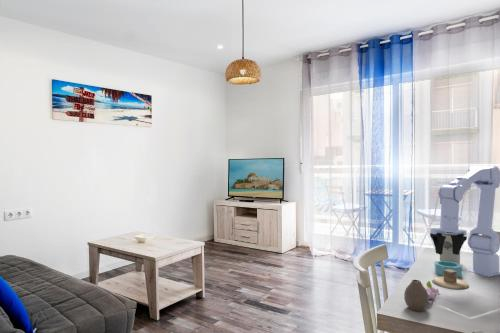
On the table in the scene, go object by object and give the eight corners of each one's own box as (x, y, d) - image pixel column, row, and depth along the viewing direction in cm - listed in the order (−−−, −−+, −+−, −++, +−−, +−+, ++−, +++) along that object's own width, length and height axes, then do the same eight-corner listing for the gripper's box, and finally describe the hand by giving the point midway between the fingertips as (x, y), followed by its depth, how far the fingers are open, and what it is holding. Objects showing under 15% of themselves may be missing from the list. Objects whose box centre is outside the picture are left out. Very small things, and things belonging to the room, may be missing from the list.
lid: (446, 277, 135) (446, 264, 135) (474, 286, 125) (474, 272, 125) (426, 281, 130) (426, 268, 130) (454, 290, 120) (454, 277, 120)
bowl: (444, 270, 145) (444, 259, 145) (465, 276, 137) (465, 265, 137) (430, 273, 141) (430, 262, 141) (450, 280, 133) (450, 268, 133)
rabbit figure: (424, 294, 122) (409, 299, 112) (424, 277, 123) (410, 281, 112) (443, 299, 118) (430, 305, 107) (444, 281, 119) (431, 285, 108)
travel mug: (446, 259, 161) (446, 221, 161) (463, 263, 155) (463, 223, 154) (436, 261, 157) (436, 222, 157) (453, 266, 151) (453, 225, 150)
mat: (445, 278, 135) (445, 276, 135) (476, 287, 125) (476, 286, 125) (424, 282, 130) (424, 281, 130) (455, 293, 119) (455, 291, 119)
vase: (431, 314, 103) (431, 285, 103) (407, 312, 104) (407, 283, 104) (424, 305, 110) (424, 277, 110) (401, 303, 111) (401, 276, 111)
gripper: (441, 217, 122) (439, 256, 121) (474, 219, 126) (472, 257, 125) (427, 215, 129) (424, 251, 128) (458, 217, 132) (456, 252, 132)
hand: (447, 254), depth 127 cm, fingers open, 7 cm apart
